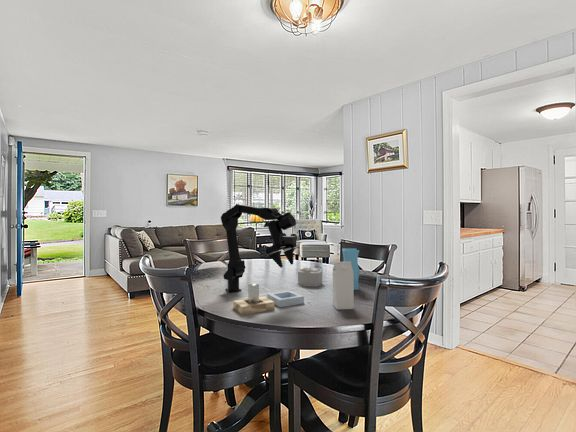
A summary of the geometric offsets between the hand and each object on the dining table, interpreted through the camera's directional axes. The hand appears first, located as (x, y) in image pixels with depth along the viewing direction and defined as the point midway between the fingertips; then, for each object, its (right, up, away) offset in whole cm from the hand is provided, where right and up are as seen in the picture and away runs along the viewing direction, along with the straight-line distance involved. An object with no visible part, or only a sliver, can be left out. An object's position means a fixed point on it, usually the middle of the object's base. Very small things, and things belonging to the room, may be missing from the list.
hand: (287, 265), depth 150 cm
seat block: (-1, -15, -4) cm, 16 cm away
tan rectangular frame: (-14, -16, -13) cm, 25 cm away
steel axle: (-14, -16, -13) cm, 25 cm away
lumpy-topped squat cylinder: (+12, -15, +31) cm, 36 cm away
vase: (+33, -15, +21) cm, 41 cm away
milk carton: (+23, -16, -12) cm, 31 cm away
